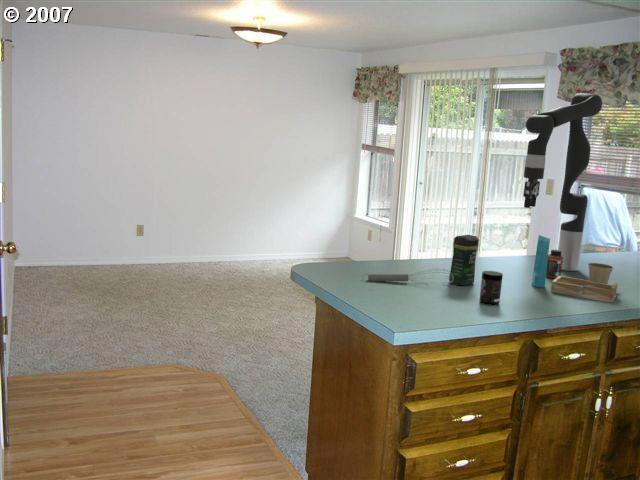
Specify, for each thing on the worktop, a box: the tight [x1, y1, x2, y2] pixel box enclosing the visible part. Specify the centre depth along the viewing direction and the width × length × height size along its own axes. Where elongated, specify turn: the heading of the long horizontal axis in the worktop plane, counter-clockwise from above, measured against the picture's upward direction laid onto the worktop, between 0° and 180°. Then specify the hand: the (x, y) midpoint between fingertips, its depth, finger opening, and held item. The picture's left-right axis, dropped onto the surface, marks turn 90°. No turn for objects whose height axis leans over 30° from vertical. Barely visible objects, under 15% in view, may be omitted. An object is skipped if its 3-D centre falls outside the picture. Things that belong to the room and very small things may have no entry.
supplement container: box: [479, 270, 504, 306], centre depth 223 cm, size 7×7×10 cm
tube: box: [531, 235, 551, 288], centre depth 252 cm, size 7×5×19 cm, turn 20°
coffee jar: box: [448, 234, 479, 286], centre depth 248 cm, size 10×8×19 cm
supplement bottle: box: [546, 249, 563, 280], centre depth 270 cm, size 6×6×11 cm
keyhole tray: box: [550, 275, 619, 304], centre depth 245 cm, size 13×21×5 cm, turn 59°
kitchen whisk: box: [361, 268, 454, 287], centre depth 245 cm, size 6×34×6 cm, turn 90°
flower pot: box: [587, 262, 615, 285], centre depth 258 cm, size 9×9×9 cm
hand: (529, 207), depth 264 cm, fingers open, 8 cm apart
